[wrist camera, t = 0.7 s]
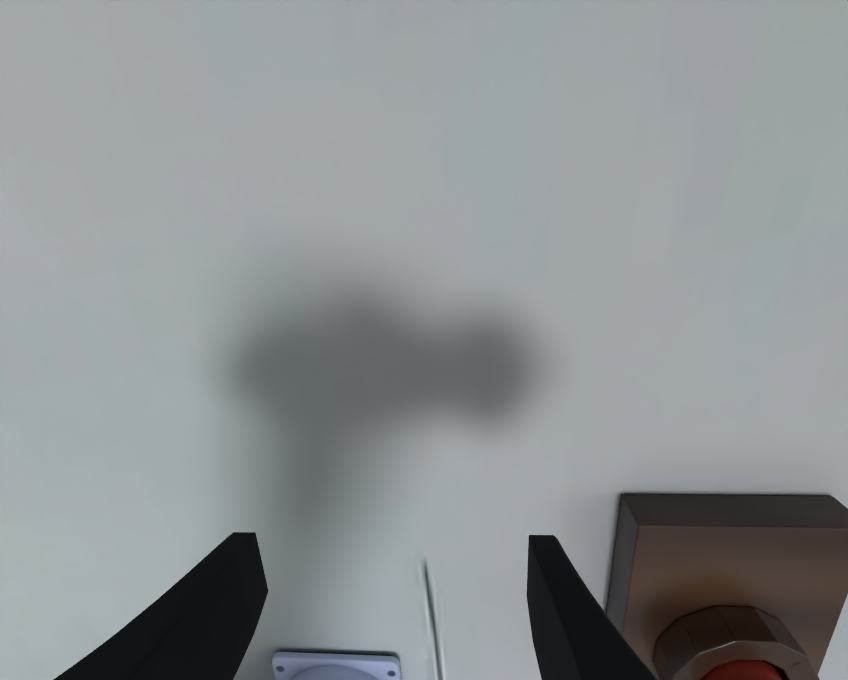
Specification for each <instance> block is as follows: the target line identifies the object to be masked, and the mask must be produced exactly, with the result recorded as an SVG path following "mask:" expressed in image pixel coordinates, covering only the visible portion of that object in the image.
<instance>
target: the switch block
mask: <svg viewBox="0 0 848 680" xmlns="http://www.w3.org/2000/svg"><path fill="white" fill-rule="evenodd" d="M847 594H848V509H847V508H846V507H845V506H844V505H842V504H841V503H840V502H839V501H838V500H836V499H835V498H834V497H832V496H745V495H638V494H623V495H622V498H621V505H620V513H619V521H618V529H617V536H616V544H615V552H614V559H613V567H612V575H611V582H610V590H609V598H608V606H607V613H606V615H607V617H608V618H609V619H610V621H611V622H612V623H613V625H614V626H615V627H616V629H617V630H618V631H619V633H620V634H621V635H622V637H623V638H624V639H625V640H626V642H627V643H628V644H629V645H630V647H631V648H632V649H633V651H634V652H635V653H636V654H637V656H638V657H639V658H640V659H641V660H642V662H643V663H644V664H645V665H646V666H647V668H648V669H649V670H650V671H651V672H652V674H653V675H654V676H655V677H656V678H657V679H658V680H700V679H701V678H702V677H703V676H704V675H706V674H707V673H708V672H709V671H710V670H711V669H713V668H714V667H715V666H718V665H721V664H725V663H728V662H731V661H734V660H737V659H742V660H762V661H765V662H767V663H768V664H770V665H771V666H772V667H773V668H774V669H775V670H776V671H777V672H778V674H779V675H780V677H781V678H782V680H819V677H818V673H819V670H820V667H821V665H822V662H823V659H824V656H825V654H826V651H827V648H828V646H829V643H830V640H831V637H832V635H833V632H834V629H835V627H836V624H837V621H838V619H839V616H840V613H841V610H842V608H843V605H844V602H845V600H846V597H847Z"/></svg>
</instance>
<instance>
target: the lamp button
mask: <svg viewBox="0 0 848 680" xmlns="http://www.w3.org/2000/svg"><path fill="white" fill-rule="evenodd" d="M700 680H782V678H781V677H780V675H779V674H778V672H777V671H776V670H775V669H774V668H773V667H772V666H771V665H770V664H768V663H767V662H765V661H762V660H742V659H737V660H734V661H731V662H728V663H725V664H721V665H718V666H715V667H714V668H713V669H711V670H710V671H709V672H708V673H707V674H706V675H704V676H703V677H702V678H701V679H700Z"/></svg>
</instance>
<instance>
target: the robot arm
mask: <svg viewBox="0 0 848 680" xmlns="http://www.w3.org/2000/svg"><path fill="white" fill-rule="evenodd" d="M267 593H268V588H267V583H266V579H265V574H264V570H263V565H262V560H261V556H260V551H259V547H258V542H257V538H256V533H239V532H233V533H232V534H231V535H230V536H229V537H228V538H226V539H225V540H224V541H223V542H222V543H221V544H220V545H218V546H217V547H216V548H215V549H214V550H213V551H212V552H211V553H210V554H208V555H207V556H206V557H205V558H204V559H203V560H202V561H201V562H200V563H198V564H197V565H196V566H195V567H194V568H193V569H192V570H191V571H190V572H188V573H187V574H186V575H185V576H184V577H183V578H182V579H180V580H179V581H178V582H177V583H176V584H175V585H174V586H173V587H171V588H170V589H169V590H168V591H167V592H166V593H165V594H163V595H162V596H161V597H160V598H159V599H158V600H156V601H155V602H154V603H153V604H152V605H150V606H149V607H148V608H147V609H145V610H144V611H143V612H142V613H141V614H139V615H138V616H137V617H136V618H135V619H133V620H132V621H131V622H130V623H128V624H127V625H126V626H125V627H124V628H122V629H121V630H120V631H119V632H118V633H116V634H115V635H114V636H112V637H111V638H110V639H109V640H107V641H106V642H105V643H103V644H102V645H101V646H99V647H98V648H97V649H95V650H94V651H93V652H91V653H90V654H89V655H87V656H86V657H84V658H83V659H82V660H80V661H79V662H78V663H76V664H75V665H73V666H72V667H71V668H69V669H68V670H67V671H65V672H64V673H62V674H61V675H59V676H58V677H57V678H55V679H54V680H233V679H234V677H235V675H236V672H237V670H238V668H239V666H240V664H241V662H242V659H243V657H244V655H245V653H246V650H247V648H248V646H249V644H250V642H251V639H252V637H253V635H254V632H255V629H256V627H257V624H258V621H259V618H260V615H261V612H262V609H263V606H264V603H265V599H266V596H267ZM527 601H528V608H529V616H530V623H531V631H532V638H533V643H534V648H535V652H536V656H537V661H538V665H539V669H540V674H541V678H542V680H658V679H657V678H656V677H655V676H654V675H653V674H652V672H651V671H650V670H649V669H648V668H647V666H646V665H645V664H644V663H643V662H642V660H641V659H640V658H639V657H638V656H637V654H636V653H635V652H634V651H633V649H632V648H631V647H630V645H629V644H628V643H627V642H626V640H625V639H624V638H623V637H622V635H621V634H620V633H619V631H618V630H617V629H616V627H615V626H614V625H613V623H612V622H611V621H610V619H609V618H608V617H607V615H606V614H605V612H604V611H603V610H602V608H601V607H600V605H599V604H598V603H597V601H596V600H595V598H594V597H593V595H592V594H591V593H590V591H589V590H588V588H587V587H586V585H585V584H584V582H583V581H582V579H581V577H580V576H579V574H578V573H577V571H576V570H575V568H574V567H573V565H572V563H571V562H570V560H569V558H568V557H567V555H566V553H565V552H564V550H563V548H562V546H561V545H560V543H559V541H558V539H557V538H556V537H555V536H554V535H529V549H528V578H527ZM272 666H273V671H274V675H275V680H401V672H400V662H399V660H398V659H397V658H396V657H394V656H376V655H350V654H324V653H297V652H277V653H275V654H274V655H273V658H272Z"/></svg>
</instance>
